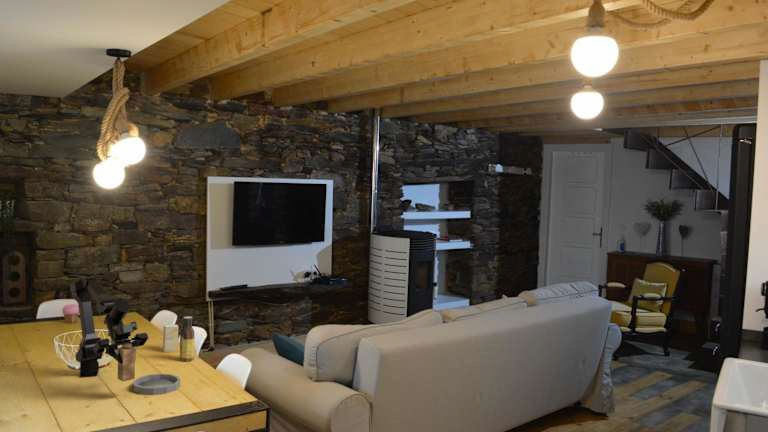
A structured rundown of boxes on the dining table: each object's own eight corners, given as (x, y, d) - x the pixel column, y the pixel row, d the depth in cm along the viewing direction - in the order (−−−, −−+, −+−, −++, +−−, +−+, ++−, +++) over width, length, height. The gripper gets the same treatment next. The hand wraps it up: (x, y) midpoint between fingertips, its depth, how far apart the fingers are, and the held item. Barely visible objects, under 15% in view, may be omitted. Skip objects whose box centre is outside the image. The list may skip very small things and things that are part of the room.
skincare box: (164, 352, 279) (164, 327, 278) (162, 350, 283) (163, 325, 282) (178, 351, 282) (178, 326, 281) (176, 348, 286) (176, 324, 285)
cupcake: (74, 324, 322) (74, 306, 321) (58, 323, 322) (59, 305, 321) (83, 320, 331) (83, 303, 330) (67, 320, 331) (68, 302, 330)
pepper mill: (122, 381, 219) (123, 346, 218) (117, 378, 222) (118, 344, 221) (134, 379, 222) (135, 344, 221) (129, 376, 225) (130, 342, 224)
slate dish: (135, 396, 222) (135, 390, 222) (131, 382, 238) (132, 376, 237) (182, 391, 230) (182, 385, 230) (176, 377, 245) (176, 372, 245)
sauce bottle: (181, 357, 273) (182, 315, 271) (195, 358, 273) (196, 315, 272) (177, 362, 266) (178, 318, 265) (192, 362, 267) (193, 318, 265)
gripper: (97, 318, 216) (109, 355, 209) (146, 311, 230) (160, 346, 223) (88, 335, 222) (99, 371, 215) (136, 327, 236) (149, 361, 229)
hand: (128, 362), depth 220 cm, fingers closed on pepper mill, 4 cm apart
